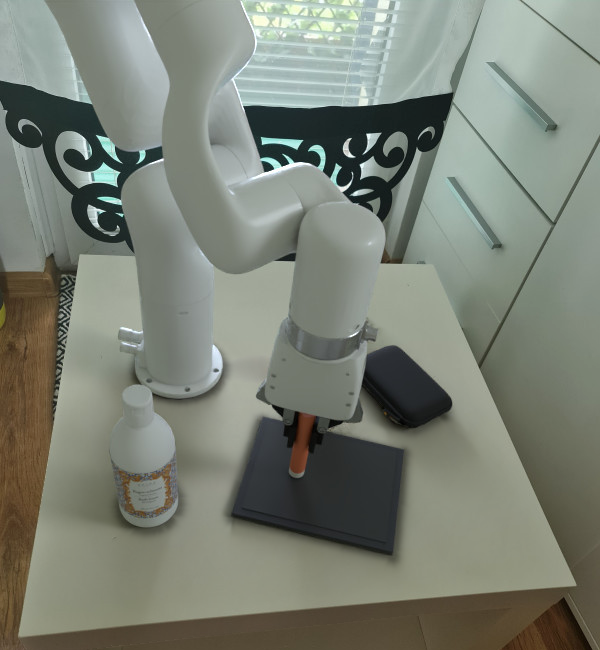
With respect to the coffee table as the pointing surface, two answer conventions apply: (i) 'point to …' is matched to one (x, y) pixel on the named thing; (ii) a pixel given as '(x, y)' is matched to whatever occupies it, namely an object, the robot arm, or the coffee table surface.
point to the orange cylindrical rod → (301, 444)
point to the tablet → (324, 488)
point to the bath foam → (143, 461)
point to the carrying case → (404, 388)
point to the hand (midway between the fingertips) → (302, 440)
